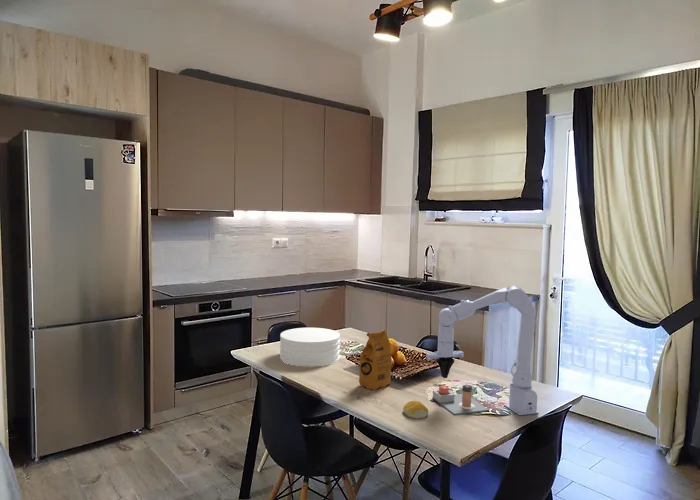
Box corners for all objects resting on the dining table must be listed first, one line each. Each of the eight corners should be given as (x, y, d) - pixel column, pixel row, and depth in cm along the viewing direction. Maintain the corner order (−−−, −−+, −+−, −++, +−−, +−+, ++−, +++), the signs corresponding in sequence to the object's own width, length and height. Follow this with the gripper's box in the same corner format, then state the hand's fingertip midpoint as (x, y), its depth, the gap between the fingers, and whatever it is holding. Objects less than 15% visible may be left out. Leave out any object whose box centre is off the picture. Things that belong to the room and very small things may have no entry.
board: (489, 411, 174) (489, 402, 173) (454, 415, 169) (454, 406, 169) (465, 394, 189) (465, 387, 189) (432, 398, 185) (432, 390, 184)
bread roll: (421, 407, 176) (421, 397, 175) (431, 418, 167) (431, 406, 167) (399, 409, 174) (399, 398, 173) (408, 419, 165) (408, 408, 165)
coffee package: (355, 385, 197) (356, 331, 195) (375, 378, 206) (377, 326, 204) (373, 391, 190) (375, 335, 188) (394, 384, 199) (395, 330, 197)
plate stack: (316, 371, 213) (317, 345, 212) (267, 360, 227) (267, 335, 227) (350, 356, 237) (351, 333, 236) (304, 346, 251) (304, 324, 250)
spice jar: (472, 406, 175) (473, 387, 175) (464, 407, 175) (465, 388, 174) (468, 403, 179) (469, 384, 178) (460, 404, 178) (460, 385, 177)
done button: (450, 396, 181) (450, 388, 181) (441, 397, 180) (441, 389, 180) (445, 393, 185) (445, 385, 185) (436, 394, 184) (437, 386, 183)
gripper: (457, 337, 187) (456, 372, 188) (423, 339, 183) (421, 375, 184) (467, 342, 180) (465, 378, 181) (431, 344, 176) (430, 381, 177)
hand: (444, 377), depth 182 cm, fingers closed
